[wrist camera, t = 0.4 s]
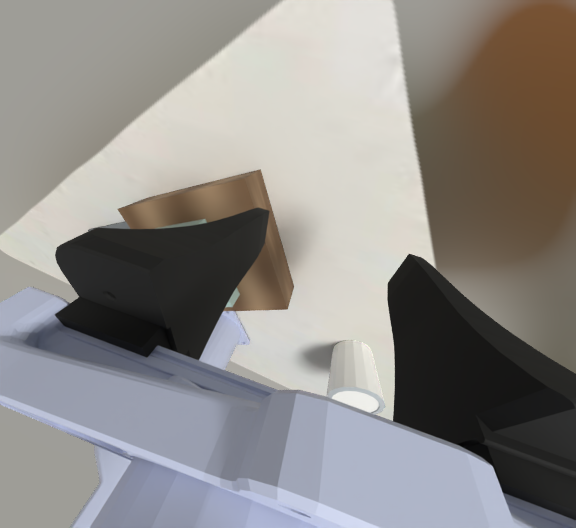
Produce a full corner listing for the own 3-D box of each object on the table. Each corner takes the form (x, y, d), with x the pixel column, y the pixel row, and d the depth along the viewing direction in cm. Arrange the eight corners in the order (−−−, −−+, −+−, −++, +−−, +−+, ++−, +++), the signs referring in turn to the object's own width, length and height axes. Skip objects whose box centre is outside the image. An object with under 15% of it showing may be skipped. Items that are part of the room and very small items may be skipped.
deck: (202, 292, 31) (186, 312, 27) (148, 197, 24) (117, 209, 20) (294, 286, 26) (287, 309, 23) (260, 169, 20) (244, 178, 16)
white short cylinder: (319, 348, 32) (314, 396, 27) (353, 330, 29) (357, 381, 23) (350, 370, 34) (353, 421, 28) (387, 356, 30) (398, 410, 24)
